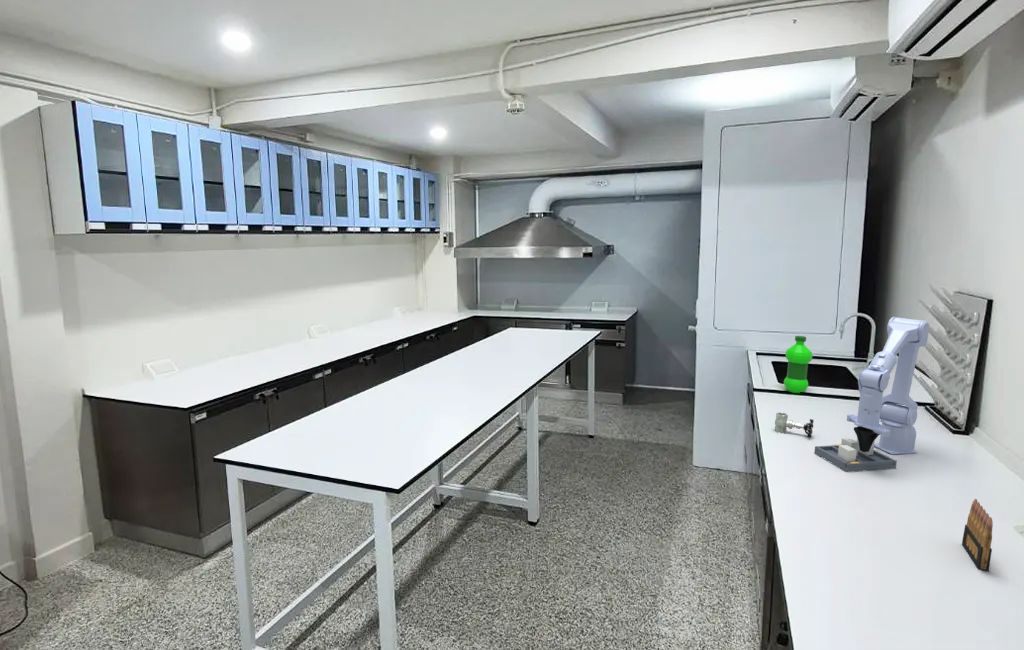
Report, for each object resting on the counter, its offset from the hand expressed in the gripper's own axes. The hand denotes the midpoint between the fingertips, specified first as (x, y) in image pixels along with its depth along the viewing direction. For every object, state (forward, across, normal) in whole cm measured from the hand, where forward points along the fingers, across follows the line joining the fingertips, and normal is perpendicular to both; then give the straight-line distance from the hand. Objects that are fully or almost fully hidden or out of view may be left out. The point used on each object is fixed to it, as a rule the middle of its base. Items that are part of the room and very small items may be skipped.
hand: (864, 451), depth 171 cm
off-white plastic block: (+3, -1, -6) cm, 7 cm away
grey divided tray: (+5, -4, 0) cm, 6 cm away
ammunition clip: (+5, +47, -13) cm, 49 cm away
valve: (+5, -28, -4) cm, 28 cm away
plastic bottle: (+5, -74, +31) cm, 80 cm away
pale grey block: (+3, -6, +5) cm, 9 cm away
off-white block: (+3, -6, 0) cm, 7 cm away
